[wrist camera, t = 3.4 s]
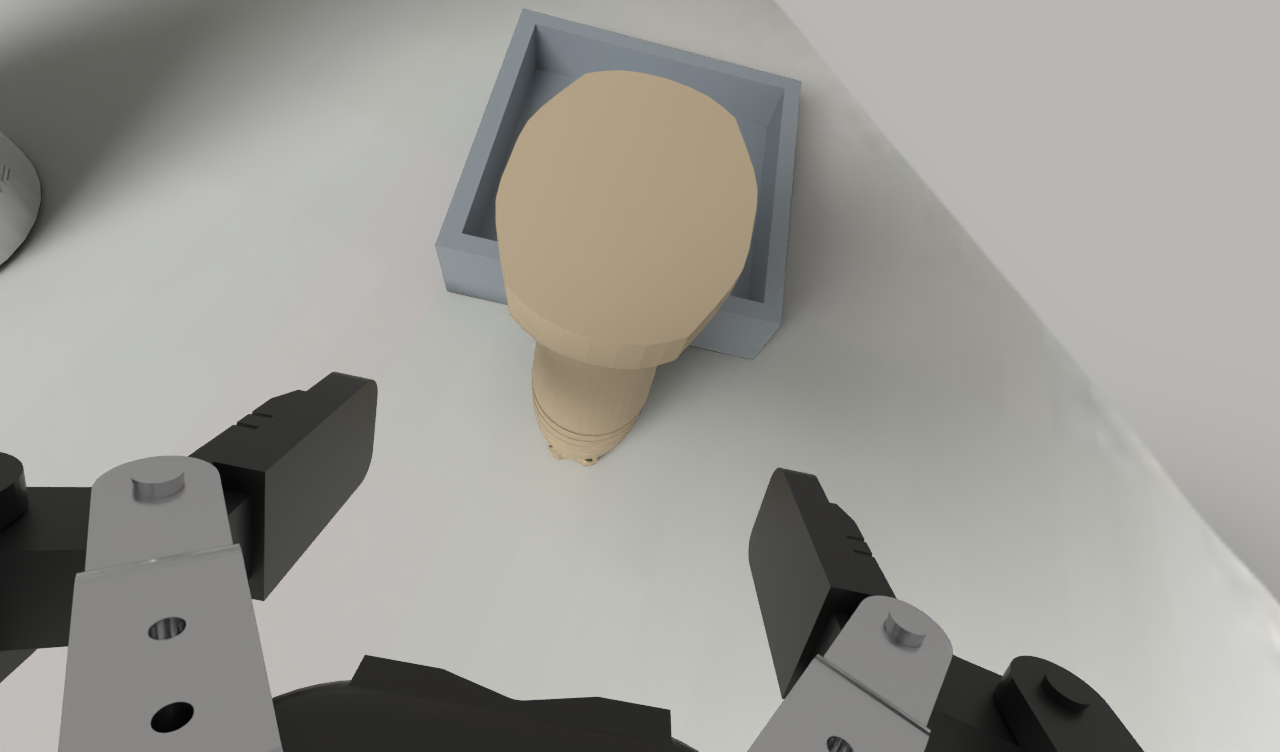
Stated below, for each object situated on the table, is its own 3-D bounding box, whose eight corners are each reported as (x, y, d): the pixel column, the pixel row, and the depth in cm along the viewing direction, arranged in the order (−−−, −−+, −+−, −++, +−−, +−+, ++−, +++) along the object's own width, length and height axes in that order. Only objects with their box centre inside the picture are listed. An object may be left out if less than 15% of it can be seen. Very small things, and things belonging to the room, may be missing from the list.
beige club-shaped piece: (499, 490, 24) (451, 300, 10) (545, 348, 27) (555, 45, 13) (618, 521, 24) (727, 375, 10) (652, 376, 27) (774, 110, 13)
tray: (447, 291, 27) (435, 245, 24) (524, 69, 33) (522, 8, 29) (753, 360, 28) (781, 324, 25) (775, 133, 34) (801, 81, 30)
